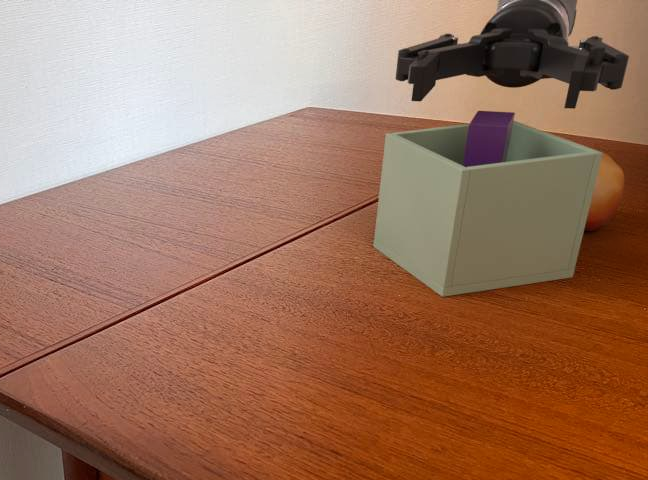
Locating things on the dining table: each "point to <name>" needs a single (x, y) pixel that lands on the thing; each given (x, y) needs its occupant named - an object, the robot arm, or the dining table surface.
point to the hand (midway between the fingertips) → (493, 86)
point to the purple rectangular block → (488, 138)
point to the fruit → (605, 194)
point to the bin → (483, 209)
